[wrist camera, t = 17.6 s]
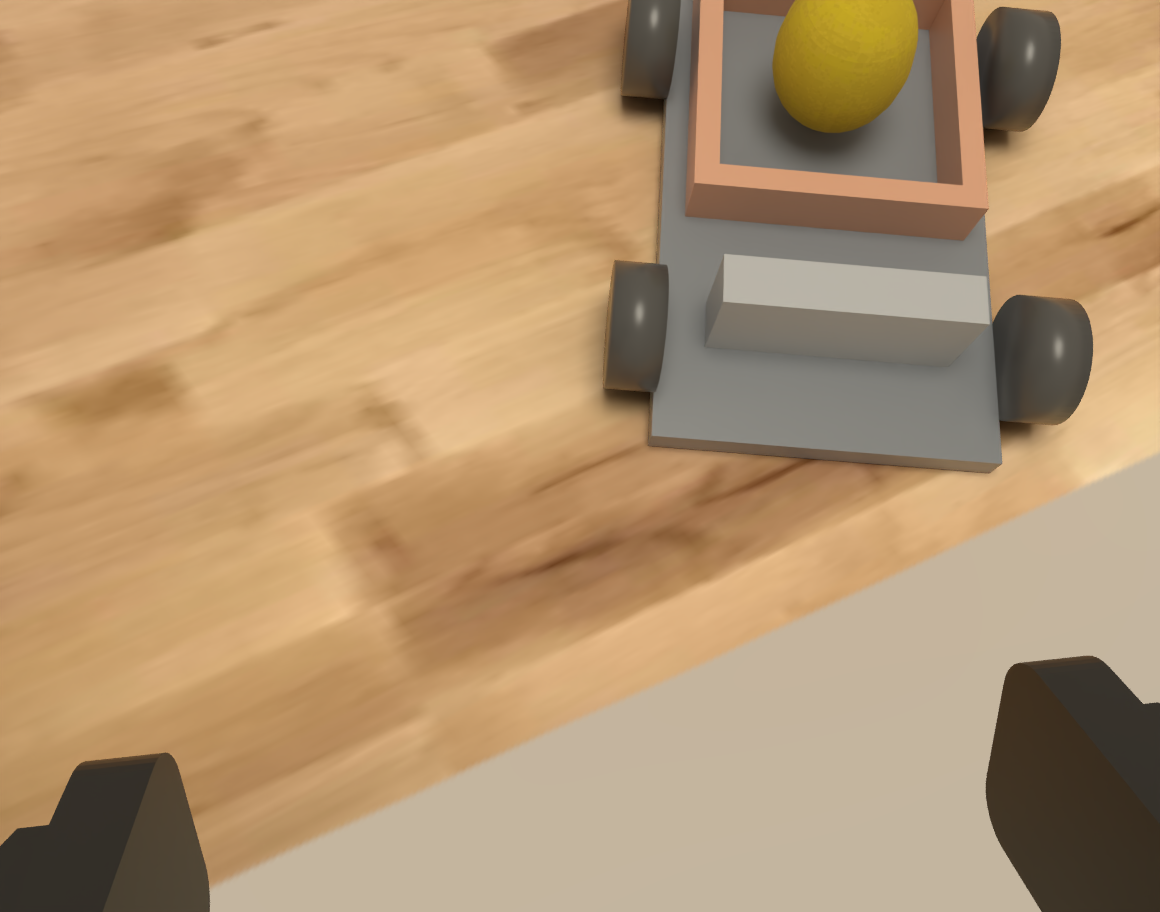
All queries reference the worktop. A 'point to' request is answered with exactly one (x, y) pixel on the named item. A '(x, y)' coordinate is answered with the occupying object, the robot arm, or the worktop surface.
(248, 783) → the worktop surface
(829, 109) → the lemon
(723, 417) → the chassis
